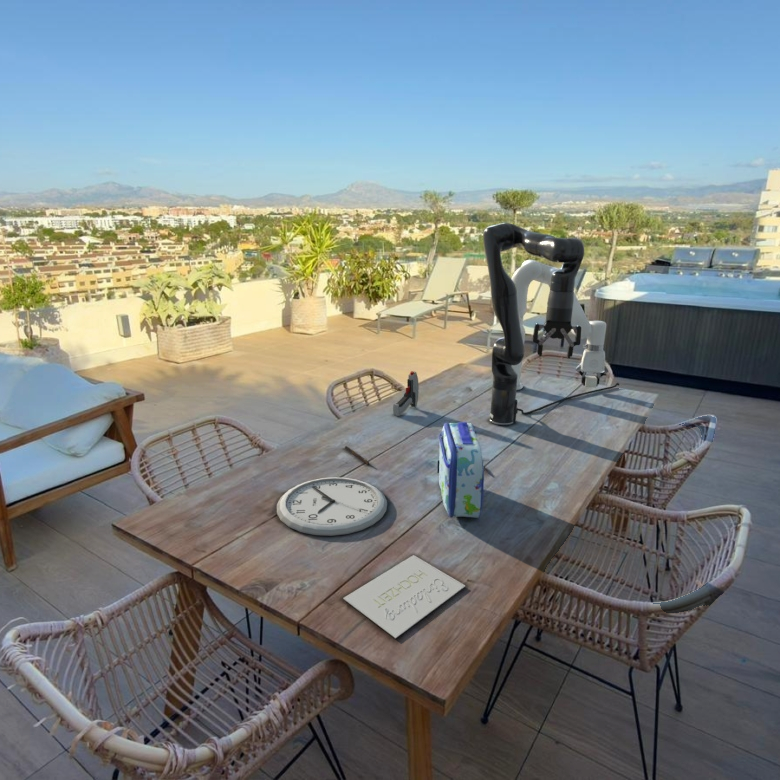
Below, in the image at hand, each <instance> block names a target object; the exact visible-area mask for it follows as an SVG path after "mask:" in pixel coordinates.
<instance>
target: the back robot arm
mask: <svg viewBox="0 0 780 780" xmlns="http://www.w3.org/2000/svg"><path fill="white" fill-rule="evenodd" d="M560 269H561V268H559V267H556V266H552V265H548V264H546V263H543V262H540V261H538V260H534V259H527V260H525V261H523V262H522V264H521V265H520V267H519V268H517V269H516V270H515V271H514V273H513V275H511V277H510V278H511V279H512V280H513V282H514V283H515V285H516V288H517V298H518V312H519V321H520V329H521V334H522V339H523V344H524V345H525V341H526V329H525V326H524V316H525V315H526V313H527V305H528V304H527V303H528V292H529V287H530V284H531V283H532V282H533V281H535V282H538V283H541V284H544V285H548V288H550V285H551V276H552V274H553V272H555V271H558V270H560ZM571 325H572V326H577V325H580V326H581V340H585V339H586V343H585V344H582V348H584V350H583V353H582V356H581V361H580V363H579V365H577V366H576V367H575V369H574V370H575V371H576V372H577V373H578V374H579V375H580V376H581V382H580V383H581V384H582V386H584V385H585V380H586V377H585V376H587V375H586V374H587V373H594V374H595V373H596V376H595V377H596V378H597V386H596V387H598V386H599V385H600V380H601V378H602V377H604V375H606V374H607V373H609V369H608V368H607V366H606V351H605V350H604V347H605V341H606V340H605V339H606V332H607V323H606V321H604V320H589V319H588V317H587V315H586V313H585V311H584V309H583V307H582V306H581V303H580V301H579V300H578V298H577V295H576V293H575V292H574V302H573V310H572V318H571ZM570 332H571V333H572V334H573V335H574V336H576V333H575V332H574V330H573V329H572V330H571V331H570ZM522 365H523V360H522V361H521V362H520V363H519V364H518V365H512V367H513V369H514V370H515V372H516V373H517V375H518V379H517V389H516V391H520V390H522V389H523V388H524V385H523V383H521V377H522V368H523V366H522ZM584 387H585V386H584Z"/></svg>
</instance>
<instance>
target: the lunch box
mask: <svg viewBox="0 0 780 780" xmlns="http://www.w3.org/2000/svg"><path fill="white" fill-rule="evenodd" d="M438 438H439V450H438V453H439V454H438V455H439V456H438V457H439V458H438V460H437V471H436V472H437V474H438V486H439V488H440V492H441V493H440V494H441V498H442V499H441V500H442V504H443V507H444V510H445V512H446V514H447V516H448V517H449V518H451V519H453V518H456V517H464V518H477V519H478V518H480V517H481V515H482V511H483V505H484V488H485V486H484V484H485V483H484V482H485V471H484V468H485V467H484V459H483V454H482V453H483V452H482V447H481V444H480V442H479V440H478V437H477V434H476V430H475V428H474V424H473V423H471V422H468V421H461V422H460V421H459V422H450V423H449V422H445V423H443V426H442V430H441V433H439V436H438Z"/></svg>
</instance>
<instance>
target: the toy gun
mask: <svg viewBox="0 0 780 780" xmlns="http://www.w3.org/2000/svg"><path fill="white" fill-rule="evenodd" d="M407 375H408V377H407V378H408V379H407V380H406V381H407V386H406V387H405V392H404V394H403V396H402V397H401V398H400V399H399V400H398V401H397V402H396V403H393V404H392V413H393V414H392V415H393V416H396V417H400V416H402V415H403V413H404V412H405V411H407V409H408V408H409V406H410V407H411V408H414V409H417V407H418V402H419V393H420V392H419V391H420V390H419V389H420V388H419V387H420V386H419V377H418V373H417V371H414V370H411V371H410V372H409V374H407Z"/></svg>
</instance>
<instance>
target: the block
mask: <svg viewBox="0 0 780 780" xmlns="http://www.w3.org/2000/svg"><path fill="white" fill-rule="evenodd" d="M585 377H586V380H585V385H584V387H585V388H597V387H598V386H597V378H596V377H597V376H595V375H585Z"/></svg>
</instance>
